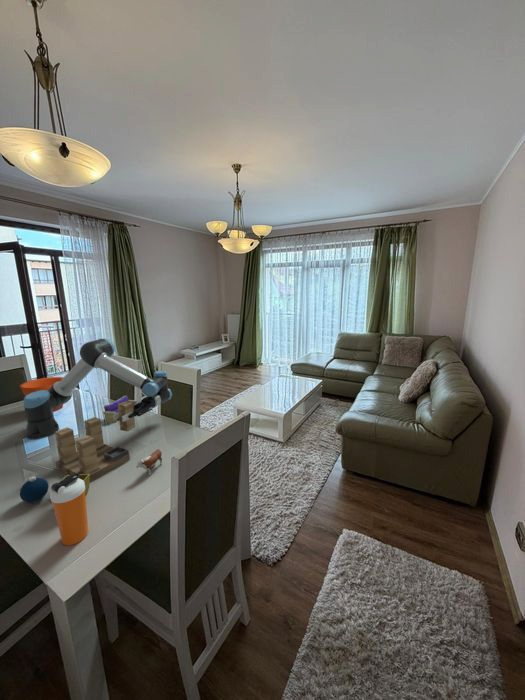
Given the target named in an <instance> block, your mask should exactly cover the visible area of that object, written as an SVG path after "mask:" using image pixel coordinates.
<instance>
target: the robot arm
mask: <svg viewBox="0 0 525 700" xmlns="http://www.w3.org/2000/svg"><path fill="white" fill-rule="evenodd" d="M115 350H116V348H115V345H114V343H113V341H112V340H110V339H109V338H98V339H95V340H91V341H88V342H85V343H84V344H83V345H82V346H80V348H79V357H80V360H79V361H78V362H76V363H75V365H74V366H73V367H72V368H71V369H70V370H69V371H68V372H67V373H66V374H65V375H64V376H63V377H64V378H63V379H62V380H61V381H59V382H55V383H54V384H53V385H52V386H51V387H50V388H49V389H48V390H47V391H46V390H41V391H36V392H33V393H30V394H28V395H27V396H25V395H24V398H23V407H24V408H23V409H24V413H25V416H26V417H25V418H26V421H27V424H26V428H25V434H24V435H25V438H26V439H28V440H37V439H38V440H39V439H42V438H47V437H50V436H52V435H55V432H56V431H59V430H60V426H59V424H58V421H57V420H56V419H55V417H54V412H53V411H52V410H53V409H55V408H57V407H59V406H61V405H62V404H63V405H65V404H66V403H68V402H69V401H70V400H71V399H72V397H73V395H74V390H75V388H76V387H77V386H79V384H80V383H81V382H82V381H83V380H84V379H85V378H86V377H87V376H88V375H89V374H90V372H92V371H93V369H101V370H102V371H105V372H107V373H109V374H110V375H113V376H114V377H116V378H119V380H122V381H124V382H126V383H128V384H130V385H131V386H134V387H136V388H137V389H140V390H141V391H142V393H143V395H144V396H146V397H144V398H142V399H141V401H139V402H137V404H135V403H133V408H134V410H133V411H134V413H133V412H130V413H128V414H126V415H124V416H122V422H124V421H126V420H128V419H130V418H132V417H134V418H135V417H141V416H143V415H144V414H146V413H148V412H151V411H153V409H154V408H156V407H159V406H160V405H161V404H162V405H163V404H164V403H166V402H168V401H169V400H171V398H172V397H173V393H172V390H171V389H170V388H169V385H168V373H167V371H165V370H157V371H154V372H153V378H151V377H148V376H147V375H145V374H142V373H140V372H139V371H138V370H135V369H133V368H131V367H129V366H127V365H126V364H123V363H121V362H120V361H119V360H116V359H114V358H112V357H111V356H113V355H114V353H115V352H116V351H115ZM116 419H117V420H119V413H116V414H114V415H113V420H116Z"/></svg>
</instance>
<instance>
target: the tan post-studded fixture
mask: <svg viewBox="0 0 525 700" xmlns="http://www.w3.org/2000/svg"><path fill="white" fill-rule="evenodd" d="M101 420H102V419H101V418H99V417H96V416H94V417H91V418H88V419H85V420H83V425H84V429H85V430H84V431H85V436H83V437H80V438H78V439H75V434H74V433H75V432H74V429H72V428H70V427H68V426H67V427H64V428H61V429H59V430H58V431H56V432H55V433H54V436H55V441H56V447H57V453H58V458H59V459H58V460H56V461H54V465H55V468H56V469H57V470H59V471H60V472H63V473H64V474H66V475H72V474H90V482H89V484H91V483H92V482H93V481H95V480H97V479H99V478H100V477H102V476H103V475H104V476H105V475H106V474H108V473H109V472H111V471H113V470H114V469H116V468H119V467H120V466H121V465H123V464H125V463H127V462H128V461H131V456H130V450H129V449H128V448H126V447H122V446H120V445H118V446H115V447H114V446H111V445H108V444H106V443H104V435H103V427H102V421H101Z"/></svg>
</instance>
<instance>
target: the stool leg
mask: <svg viewBox="0 0 525 700" xmlns="http://www.w3.org/2000/svg"><path fill="white" fill-rule="evenodd" d="M133 410H134V408H133V402H128V401H125V402H122V403H120V404H118V413H119V418H118V421H119V429H120V431H123V432H127V433H128V432H130V431H131V430H133V429H135V428H136V420H135V416H134V417H132V418H130V419H128V420H126V421H124V422H122V416H124V415H126V414H128V413H130V412H133V413H134V411H133Z"/></svg>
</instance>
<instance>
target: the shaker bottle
mask: <svg viewBox="0 0 525 700" xmlns="http://www.w3.org/2000/svg"><path fill="white" fill-rule="evenodd" d="M79 476H80V474H72V475H70V476H68V477H66V478H65V479H63V478H62V479H63V480H62V479H61V480H62V481H61V480H60V481H59V482H54V483H52V484H51V486H50V489H51V490H50V493H49V497H50V502H51V504H52V506H53V510H54V515H55V519H56V522H57V527H58V531H59V535H60V539H61V542H62V545H64V546H74V545H76V544H78V543H80V542H81V541H83V540H84V539H85V538H86V537H87V536H88V534H89V523H88V513H87V512H88V511H87V502H86V497H85V483H84V481H83V480H81V479H79Z"/></svg>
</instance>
